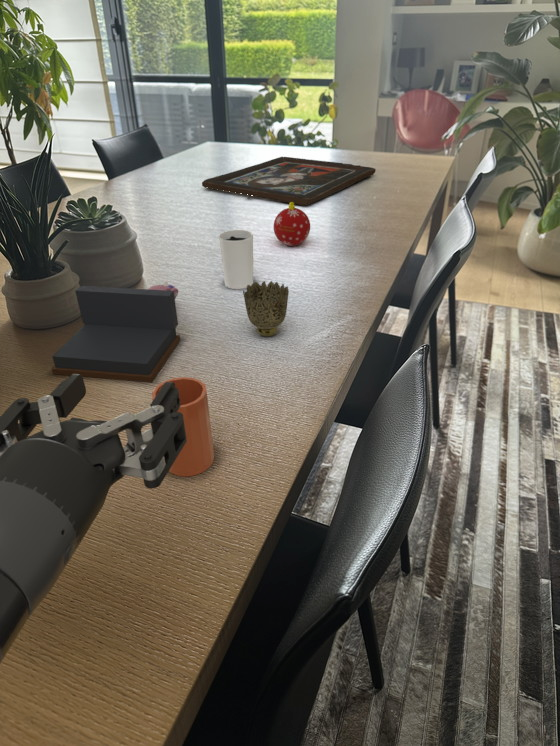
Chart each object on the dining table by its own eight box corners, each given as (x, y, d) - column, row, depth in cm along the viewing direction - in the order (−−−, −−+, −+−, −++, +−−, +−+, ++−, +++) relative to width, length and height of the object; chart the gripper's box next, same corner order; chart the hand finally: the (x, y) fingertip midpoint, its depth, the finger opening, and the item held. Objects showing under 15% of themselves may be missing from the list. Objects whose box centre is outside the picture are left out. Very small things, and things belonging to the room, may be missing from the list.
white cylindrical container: (217, 287, 110) (212, 239, 105) (231, 275, 115) (227, 228, 110) (247, 291, 108) (244, 242, 103) (260, 279, 113) (258, 231, 108)
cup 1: (157, 473, 65) (143, 404, 59) (174, 441, 70) (163, 375, 64) (205, 479, 64) (196, 409, 58) (219, 446, 69) (212, 379, 63)
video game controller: (139, 334, 98) (146, 306, 93) (120, 318, 98) (127, 289, 93) (176, 312, 104) (185, 285, 100) (159, 298, 105) (167, 270, 100)
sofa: (52, 374, 84) (37, 321, 79) (92, 333, 95) (80, 285, 90) (151, 382, 81) (141, 328, 77) (180, 340, 92) (173, 290, 87)
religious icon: (198, 191, 175) (197, 181, 173) (279, 164, 205) (279, 155, 204) (305, 209, 155) (305, 198, 153) (377, 176, 186) (377, 166, 184)
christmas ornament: (266, 246, 130) (265, 203, 124) (288, 236, 136) (287, 195, 130) (296, 253, 125) (295, 209, 120) (317, 242, 131) (317, 200, 126)
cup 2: (281, 346, 90) (279, 301, 85) (239, 340, 92) (236, 296, 87) (294, 325, 95) (294, 283, 91) (255, 320, 98) (252, 278, 93)
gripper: (112, 497, 31) (199, 354, 45) (-105, 471, 34) (40, 343, 47) (134, 582, 35) (208, 428, 49) (-61, 554, 38) (61, 414, 51)
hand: (125, 386), depth 48 cm, fingers open, 8 cm apart
